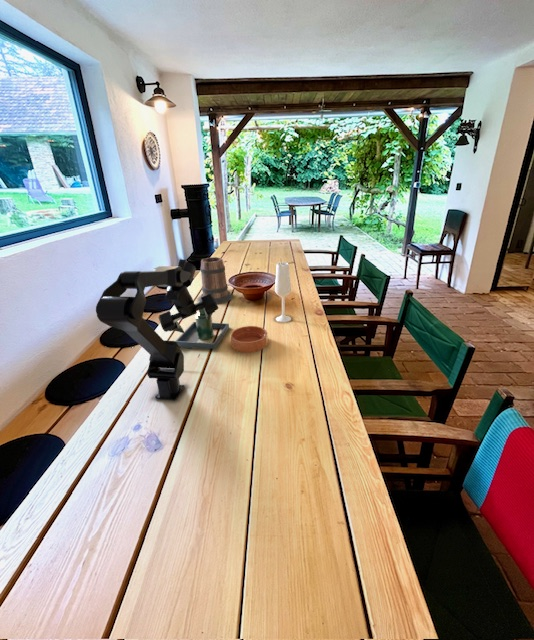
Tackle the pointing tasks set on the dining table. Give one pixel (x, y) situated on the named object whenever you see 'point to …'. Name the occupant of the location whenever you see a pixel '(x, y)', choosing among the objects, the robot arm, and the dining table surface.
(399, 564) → the dining table surface
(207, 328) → the bottle
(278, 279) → the champagne flute
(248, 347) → the bowl
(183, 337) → the tray
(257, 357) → the dining table surface
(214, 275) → the tankard
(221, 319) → the dining table surface
